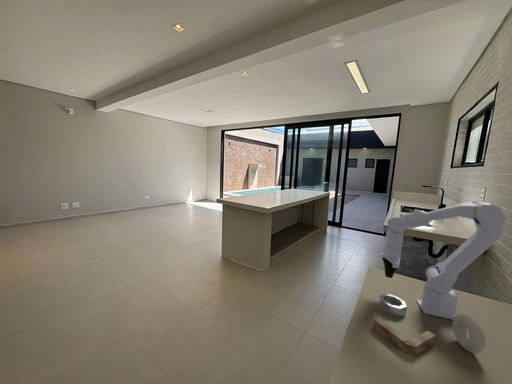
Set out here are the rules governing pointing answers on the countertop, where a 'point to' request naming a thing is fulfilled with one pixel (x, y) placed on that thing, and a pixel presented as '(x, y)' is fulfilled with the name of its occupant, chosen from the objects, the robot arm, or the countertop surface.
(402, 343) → the vee stop
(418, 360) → the countertop surface
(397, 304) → the ring
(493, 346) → the countertop surface
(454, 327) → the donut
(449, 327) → the countertop surface
